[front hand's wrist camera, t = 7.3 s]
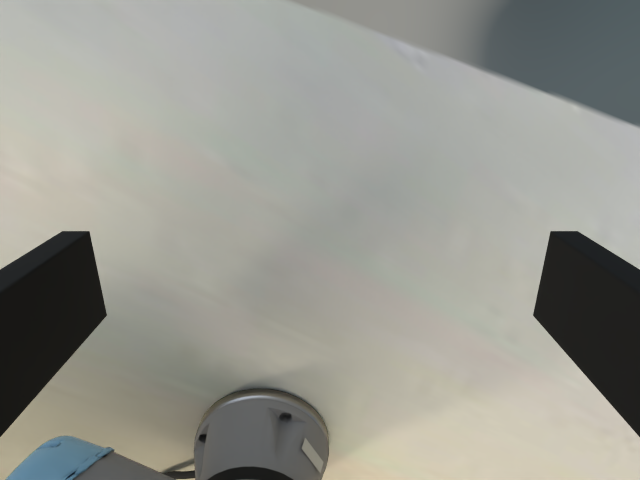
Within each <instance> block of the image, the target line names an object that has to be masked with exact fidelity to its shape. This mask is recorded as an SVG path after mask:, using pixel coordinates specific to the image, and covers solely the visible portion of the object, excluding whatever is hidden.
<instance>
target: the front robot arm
mask: <svg viewBox="0 0 640 480" xmlns="http://www.w3.org/2000/svg"><path fill="white" fill-rule="evenodd" d="M106 316H107V314H106V309H105V304H104V300H103V295H102V290H101V285H100V280H99V276H98V271H97V266H96V261H95V256H94V251H93V247H92V242H91V237H90V232H89V231H62V232H61V233H59V234H57V235H56V236H54V237H52V238H51V239H49V240H48V241H46V242H44V243H43V244H41V245H39V246H38V247H36V248H35V249H33V250H31V251H30V252H28V253H27V254H25V255H23V256H22V257H20V258H18V259H17V260H15V261H14V262H12V263H10V264H9V265H7V266H5V267H4V268H2V269H1V270H0V437H1V436H2V434H3V433H4V432H5V431H6V430H7V429H8V428H9V426H10V425H11V424H12V423H13V422H14V421H15V420H16V418H17V417H18V416H19V415H20V414H21V413H22V412H23V410H24V409H25V408H26V407H27V406H28V405H29V404H30V402H31V401H32V400H33V399H34V398H35V397H36V396H37V395H38V393H39V392H40V391H41V390H42V389H43V388H44V387H45V385H46V384H47V383H48V382H49V381H50V380H51V379H52V377H53V376H54V375H55V374H56V373H57V372H58V371H59V369H60V368H61V367H62V366H63V365H64V364H65V363H66V361H67V360H68V359H69V358H70V357H71V356H72V355H73V353H74V352H75V351H76V350H77V349H78V348H79V347H80V345H81V344H82V343H83V342H84V341H85V340H86V339H87V337H88V336H89V335H90V334H91V333H92V332H93V331H94V329H95V328H96V327H97V326H98V325H99V324H100V323H101V321H102V320H103V319H104V318H105V317H106ZM533 316H534V317H535V318H536V319H537V320H538V321H539V323H540V324H541V325H542V326H543V327H544V328H545V329H546V331H547V332H548V333H549V334H550V335H551V336H552V337H553V339H554V340H555V341H556V342H557V343H558V344H559V345H560V347H561V348H562V349H563V350H564V351H565V352H566V353H567V355H568V356H569V357H570V358H571V359H572V360H573V361H574V363H575V364H576V365H577V366H578V367H579V368H580V369H581V371H582V372H583V373H584V374H585V375H586V376H587V377H588V379H589V380H590V381H591V382H592V383H593V384H594V385H595V387H596V388H597V389H598V390H599V391H600V392H601V393H602V395H603V396H604V397H605V398H606V399H607V400H608V401H609V402H610V404H611V405H612V406H613V407H614V408H615V409H616V410H617V412H618V413H619V414H620V415H621V416H622V417H623V418H624V420H625V421H626V422H627V423H628V424H629V425H630V426H631V428H632V429H633V430H634V431H635V432H636V433H637V434H638V436H639V437H640V270H639V269H638V268H636V267H635V266H633V265H631V264H630V263H628V262H626V261H625V260H623V259H622V258H620V257H618V256H617V255H615V254H613V253H612V252H610V251H609V250H607V249H605V248H604V247H602V246H601V245H599V244H597V243H596V242H594V241H592V240H591V239H589V238H588V237H586V236H584V235H583V234H581V233H579V232H578V231H551V232H550V237H549V242H548V247H547V251H546V256H545V261H544V266H543V271H542V276H541V280H540V285H539V290H538V295H537V300H536V304H535V309H534V314H533ZM328 455H329V441H328V433H327V429H326V426H325V424H324V422H323V420H322V418H321V417H320V416H319V414H318V413H317V412H316V411H315V410H314V409H313V408H312V407H311V406H310V405H308V404H307V403H306V402H304V401H303V400H301V399H299V398H297V397H295V396H293V395H291V394H288V393H285V392H281V391H276V390H270V389H250V390H244V391H239V392H236V393H233V394H230V395H228V396H226V397H224V398H222V399H220V400H219V401H217V402H216V403H215V404H214V405H212V406H211V407H210V408H209V409H208V411H207V412H206V413H205V415H204V416H203V418H202V420H201V422H200V425H199V428H198V431H197V434H196V437H195V445H194V462H195V471H184V472H181V471H174V472H168V473H165V474H162V473H160V472H158V471H155V470H153V469H151V468H149V467H146V466H144V465H142V464H140V463H137V462H135V461H133V460H130V459H128V458H126V457H124V456H121V455H119V454H117V453H115V452H114V449H112V448H110V447H107V448H103V447H100V446H97V445H95V444H92V443H89V442H87V441H84V440H81V439H78V438H76V437H72V436H60V437H56V438H54V439H51V440H49V441H47V442H46V443H44V444H42V445H41V446H40V447H38V448H37V449H36V450H35V451H34V452H33V453H31V454H30V455H29V456H28V457H27V458H26V459H25V460H24V461H23V462H22V463H21V464H20V465H19V466H18V467H17V468H16V469H15V470H14V471H13V472H12V473H11V474H10V475H9V476H8V477H7V479H6V480H176V479H189V478H195V480H321V479H322V477H323V474H324V471H325V468H326V465H327V461H328Z"/></svg>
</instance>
